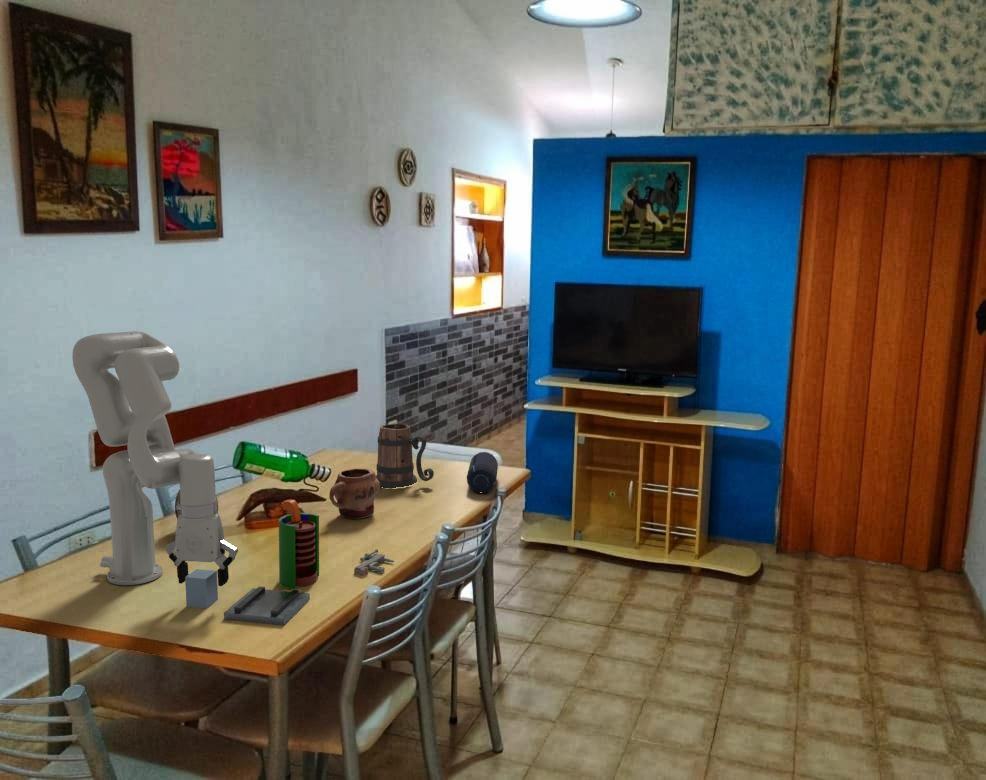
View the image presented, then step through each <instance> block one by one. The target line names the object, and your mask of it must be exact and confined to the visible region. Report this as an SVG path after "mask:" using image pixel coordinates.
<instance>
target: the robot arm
mask: <svg viewBox="0 0 986 780" xmlns="http://www.w3.org/2000/svg"><path fill="white" fill-rule="evenodd" d="M72 365H73V370H74V372H75V374H76V377H77V378H78V381H79V383H80V385H82V387H83V389H84V392H85V393H86V395H87V399H88V402H89V406H90V409H91V412H92V415H93V419H94V422H95V425H96V429H97V432H98V435H99V437H100V440H101V442H102V443H103V444H104V445H105V446H106V447H107V446H108V447H112V448H113V447H115V448H116V447H122V446H123V447H124V446H127V449H126V450H121V451H117V452H116V453H113V454H111V455H109V456H108V457H107V458H106V459H105V461H104V462H103V465H102V476H103V479H104V484H105V488H106V490H107V491H106V492H107V496H108V503H109V504H108V506H109V519H110V533H111V549H112V551H111V552H112V556H108V555H107V556H105V555H104V556H103V557H101V561H100V564H99V566H100V568H108V569H109V571H108V572H107V575H106V580H107V581H108V583H110V584H112V585H118V586H135V585H140V584H146V583H149V582H152V581H155V580H157V579H158V578H160V577H161V576H162V574H163V573H164V572H163V566H162V565H159V564H158V563H156V551H155V550H156V549H155V531H154V529H155V527H154V512H153V504H152V501H151V499H150V498H149V497H148V496H147V494H145V492H144V491H143V488H147V489H151V490H152V489H153V490H154V489H161V488H164V487H168V486H173V485H176V484H179V489H180V500H181V503H180V504H177V505H176V509H178V510H181V515H180V516H178V520H176V522H177V523H176V526H175V527H176V528H175V540H174V541H172V542H171V543H168V544H166V545H165V546H164V549H165V551H166V554H167V555H168V559H170V560H171V561H172V562H173V565H174V566H175V567H176V574H177V575H176V576H177V579H178V580H177V581H178V584H179V585H180V584H183V583H185V577H186V576H187V575H189V574H190V573H189V564H188V562H199V563H215V564H216V565H217V567H219V568H218V569H217V570H216V571H217V586H218V587H223V586H224V585H225V584H227V583H228V581H229V579H230V577H229V576H230V575H229V566H230V565H231V564H232V562H233V561H235V559H236V556H237V554H238V552H239V548H237V547H236V546H234V545H232V544H231V543H229V542H227V541H226V539H225V532H224V526H223V522H222V518H221V516H220V514H219V513H218V514H217V507H216V496H217V493H216V476H215V475H216V474H215V461H214V458H213V457H212V455H210V454H207V453H206V454H205V453H199V452H197V451H196V450H194V449H192V448H181V449H176V448H175V444H174V441H173V437H172V434H171V430H170V427H169V424H168V420H167V418H166V415H167V414H168V413H169V412H170V410H171V408H172V402H171V400H170V397H169V395H168V392H167V390H166V388H165V386H164V383H163V382H165V381H171V380H173V379H175V378H176V377H177V376H178V375H179V371H180V362H179V358H178V357H177V354H176V353H175V351H173V349H172V347H171V348H170V346H168V345H167V344H165V343H164V342H162V341H160V340H159V339H157V338H155V337H153V336H151V335H150V334H148V333H146V332H143V331H139V330H138V331H136V330H133V331H132V330H131V331H121V332H119V331H118V332H106V333H97V334H96V333H95V334H91V335H86V336H84V337H82V338H80V339H79V340H77V342H75V344H74V346H73V349H72ZM109 369H115V372H116V373H115V374H116V375H117V376H116V375H114V374H113V373H111V372H110V371H109ZM226 552H227V553H228V557H227V556H226V555H225V554H226Z"/></svg>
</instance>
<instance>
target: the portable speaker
mask: <svg viewBox="0 0 986 780" xmlns="http://www.w3.org/2000/svg"><path fill="white" fill-rule="evenodd" d="M498 470H499V464H498V460H497V458H496V456H494V454H492V453H489V452H486V451H483V452H482V451H481V452H478V453H475V454H474V455H473V456H472V458H471V460H470V462H469V466H468V470H467V475H466V483H467V485H468V487H469V488H470V490H472V491H473V492H475V491H476V492H475V493H478V492H487V493H489V492H491V490H493V488H494V487H495V485H496V484H497V478H498Z"/></svg>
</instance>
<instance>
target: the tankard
mask: <svg viewBox="0 0 986 780" xmlns="http://www.w3.org/2000/svg"><path fill="white" fill-rule="evenodd" d="M419 440H420V441H419ZM419 442H421V444H420V443H419ZM419 444H420V445H421V446H420V449H419ZM426 447H427V439H426V437H425V436H423V435H418V436H414V437H413V436H412V433H411V428H410V425H408V424H407V423H394V424H392V423H391V424H383V425H380V427H379V433H378V437H377V463H376V468H375V469H376V474H375V475H376V477H377V480H378V481H379V483H380V487H383V488H382V489H384V488H396V487H404V486H409V485H412V484H414V483H416V482H417V479H418V478H419V479H420V480H421V481H423V482H428V481H430V480H433V478H434V475H435V473H434V470H433V469H432V468H426V469H424V470H423V468H422V456H423V454H424V452H425V449H426ZM413 449H414V450H415V451H416V450H418V452H417V454H416V455H417V456H416V459H415V461H416V462H415V467H416V472H417V475H418V478H417V476H416V475H415V474H414V470H415V467H414V462H413V460H414V459H413ZM427 476H428V477H427Z"/></svg>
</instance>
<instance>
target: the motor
mask: <svg viewBox="0 0 986 780" xmlns="http://www.w3.org/2000/svg"><path fill="white" fill-rule="evenodd" d="M282 510H283V511H289V512H290V513H289V514H286V515H283V516H281V517H280V518H279V519H278V566H279V567H278V570H279V573H278V574H279V575H278V577H279V578H278V579H279V582H278V583H279V585H280V586H282V587H283V588H285V589H291V590H296V588H304V587H309V586H312V585H314V584H316V583H317V581H318V577H320V515H318V514H316V513H309V512H301V511H300V507H299V504H298V502H297V501H296V500H295V499H286V500H284V501H283V502H282Z"/></svg>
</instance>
